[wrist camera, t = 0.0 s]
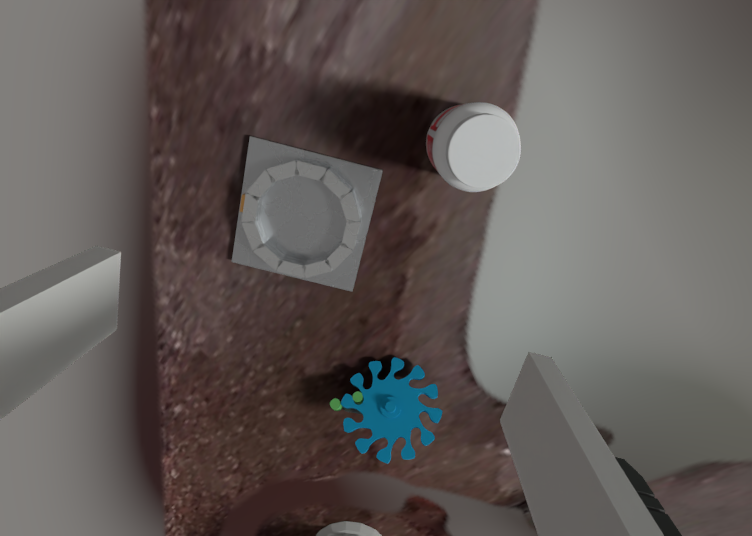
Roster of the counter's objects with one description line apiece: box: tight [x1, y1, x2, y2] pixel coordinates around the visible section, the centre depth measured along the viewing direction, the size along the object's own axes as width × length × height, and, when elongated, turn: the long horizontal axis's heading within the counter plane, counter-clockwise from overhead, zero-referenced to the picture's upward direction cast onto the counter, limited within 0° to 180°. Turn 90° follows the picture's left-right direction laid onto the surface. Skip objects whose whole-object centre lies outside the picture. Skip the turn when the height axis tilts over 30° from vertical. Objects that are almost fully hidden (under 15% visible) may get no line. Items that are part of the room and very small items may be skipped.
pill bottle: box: [426, 102, 521, 192], centre depth 33 cm, size 6×6×11 cm
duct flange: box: [232, 136, 383, 291], centre depth 41 cm, size 12×12×2 cm
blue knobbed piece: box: [330, 357, 442, 464], centre depth 46 cm, size 11×6×10 cm
